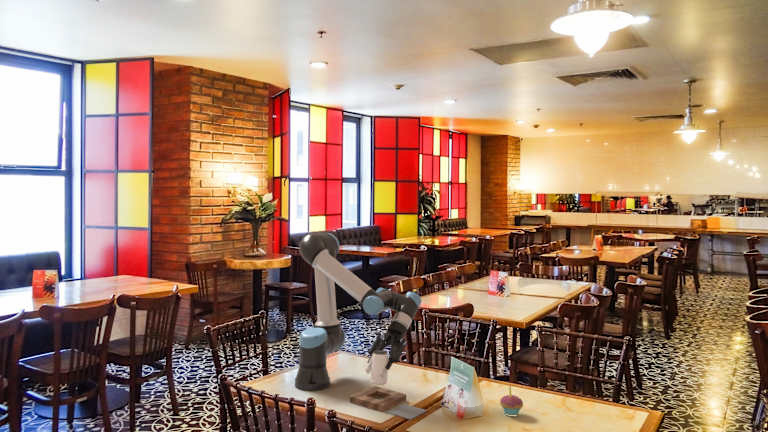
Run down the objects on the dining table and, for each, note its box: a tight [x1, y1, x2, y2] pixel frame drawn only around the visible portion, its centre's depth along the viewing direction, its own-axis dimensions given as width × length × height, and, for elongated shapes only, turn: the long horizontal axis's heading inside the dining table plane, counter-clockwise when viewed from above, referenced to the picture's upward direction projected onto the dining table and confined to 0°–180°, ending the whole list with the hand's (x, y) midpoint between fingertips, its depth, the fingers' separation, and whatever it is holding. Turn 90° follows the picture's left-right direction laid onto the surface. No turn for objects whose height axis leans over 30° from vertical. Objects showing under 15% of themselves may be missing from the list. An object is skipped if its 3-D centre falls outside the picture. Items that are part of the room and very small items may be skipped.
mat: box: [386, 403, 428, 421], centre depth 217 cm, size 11×11×1 cm
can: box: [370, 350, 389, 386], centre depth 227 cm, size 6×6×12 cm
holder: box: [349, 385, 407, 413], centre depth 227 cm, size 16×16×2 cm
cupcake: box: [499, 385, 524, 415], centre depth 216 cm, size 9×8×12 cm
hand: (374, 373), depth 224 cm, fingers closed on can, 6 cm apart
